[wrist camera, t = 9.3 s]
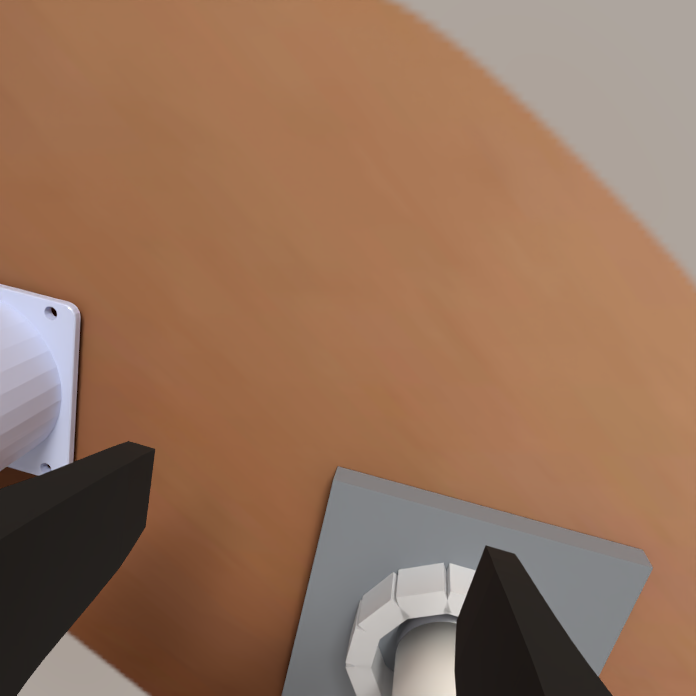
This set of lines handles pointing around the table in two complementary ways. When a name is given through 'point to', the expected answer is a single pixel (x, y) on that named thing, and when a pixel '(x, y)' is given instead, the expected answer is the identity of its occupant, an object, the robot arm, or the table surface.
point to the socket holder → (439, 580)
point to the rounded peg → (425, 657)
